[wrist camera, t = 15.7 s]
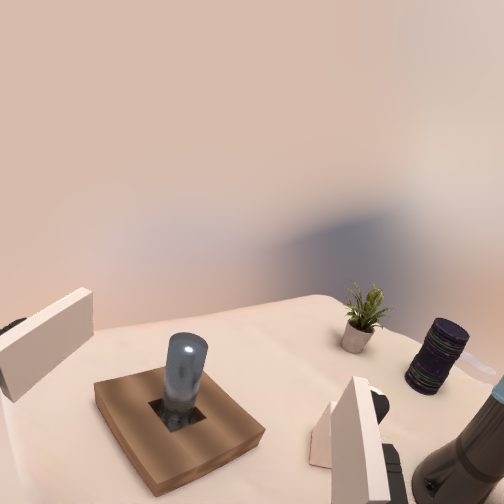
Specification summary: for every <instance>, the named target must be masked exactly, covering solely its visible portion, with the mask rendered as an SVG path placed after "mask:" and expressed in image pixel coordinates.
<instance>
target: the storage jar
mask: <svg viewBox="0 0 504 504" xmlns="http://www.w3.org/2000/svg"><path fill="white" fill-rule="evenodd" d="M469 337H470V336H469V334H468V333H467V332H466V331H465V330H464V329H463V328H462V327H460V326H459V325H457V324H455V323H454V322H452V321H449V320H447V319H443V318H436V319H435V320H434V322H433V324H432V326H431V328H430V329H429V331H428V333H427V336H426V337H425V340H424V344H423V346H422V347H421V349H420V351H419V353H418V354H417V355H416V356H415V357H414V359H413V361H412V362H411V364H410V367H409V369H408V371H407V372H406V374H405V380H406V382H407V383H408V385H409V386H410V387H411V388H413V389H414V390H415V391H417V392H419V393H421V394H424V395H434V394H436V393H437V391H438V389H439V388H440V387H441V385H442V384H443V383H444V381H445V379H446V378H447V377H448V375H449V371H450V369H451V368H452V366H453V364H454V363H455V361H456V360H457V359H458V358H459V357H460V354H461V353H462V351H463V349H464V347H465V345H466V342H467V341H468V339H469Z"/></svg>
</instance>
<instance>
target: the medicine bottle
mask: <svg viewBox="0 0 504 504" xmlns="http://www.w3.org/2000/svg"><path fill="white" fill-rule="evenodd" d="M369 387H370V391H371V395H372V400H373V404H374V409H375V413H376V418H377V423H378V425H379V424H380V422H381V421H382V419H383V418H384V417H385V415H386V414H387V413H388V411H389V408H390V405H389V401H388V399H387V397H386V396H385V395H384V394H383V393H382V392H381V391H380V390H378V389H376V388H374V387H372V386H369ZM337 403H338V402H335V401H331V402H330V403H329V405H328V406H327V408H326V410H325V411H324V413H323V415H322V416H321V418H320V419H319V421H318V423H317V424H316V426H315V427H314V429H313V431H312V442H311V452H310V461H309V463H310V464H311V465H316V466H321V467H327V468H332V456H331V421H330V415H331V414H332V412H333V410H334V409H335V407H336V405H337Z"/></svg>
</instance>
